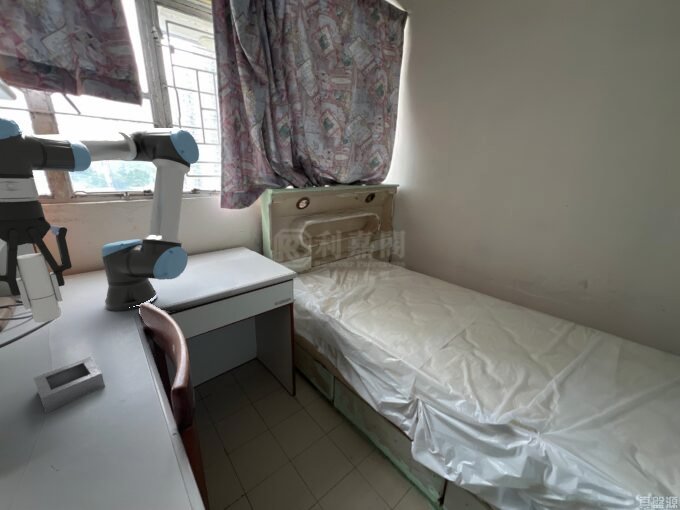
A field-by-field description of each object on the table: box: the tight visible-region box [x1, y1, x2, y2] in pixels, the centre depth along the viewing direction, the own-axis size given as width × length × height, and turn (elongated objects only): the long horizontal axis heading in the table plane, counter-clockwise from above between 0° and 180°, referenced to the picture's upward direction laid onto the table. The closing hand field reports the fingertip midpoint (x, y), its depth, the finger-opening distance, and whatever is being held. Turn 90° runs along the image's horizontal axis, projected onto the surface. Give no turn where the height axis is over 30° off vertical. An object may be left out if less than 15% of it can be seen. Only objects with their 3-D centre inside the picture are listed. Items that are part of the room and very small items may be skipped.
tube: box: [17, 252, 62, 323], centre depth 60 cm, size 4×4×15 cm
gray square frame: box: [33, 356, 106, 414], centre depth 58 cm, size 9×9×4 cm
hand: (43, 303), depth 61 cm, fingers closed on tube, 4 cm apart
